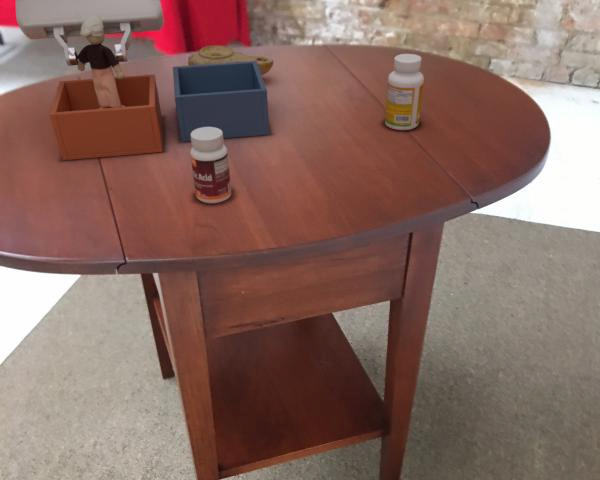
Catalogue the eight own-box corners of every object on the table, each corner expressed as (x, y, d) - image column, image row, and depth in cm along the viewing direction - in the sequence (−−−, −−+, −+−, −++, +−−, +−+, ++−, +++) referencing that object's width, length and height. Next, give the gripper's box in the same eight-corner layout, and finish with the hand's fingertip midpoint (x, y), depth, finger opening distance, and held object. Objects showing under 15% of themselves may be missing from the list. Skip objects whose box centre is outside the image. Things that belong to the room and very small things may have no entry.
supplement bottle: (403, 114, 103) (410, 49, 96) (425, 125, 100) (434, 58, 93) (377, 122, 101) (382, 56, 94) (399, 134, 98) (405, 66, 91)
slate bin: (181, 142, 97) (174, 97, 92) (179, 108, 107) (172, 66, 102) (269, 134, 98) (266, 90, 94) (259, 102, 108) (256, 60, 103)
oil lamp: (276, 84, 114) (275, 53, 111) (198, 94, 111) (194, 63, 107) (260, 65, 121) (258, 36, 118) (186, 75, 118) (182, 45, 115)
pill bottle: (188, 197, 84) (179, 134, 79) (213, 184, 87) (205, 122, 81) (215, 207, 82) (207, 144, 76) (239, 193, 85) (233, 130, 79)
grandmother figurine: (138, 108, 97) (122, 13, 88) (128, 117, 94) (110, 21, 85) (91, 104, 98) (70, 10, 89) (80, 113, 95) (58, 18, 86)
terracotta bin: (62, 160, 93) (49, 114, 89) (71, 124, 103) (59, 81, 98) (162, 152, 95) (154, 106, 90) (161, 117, 104) (154, 74, 100)
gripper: (1, -47, 86) (15, 55, 86) (153, -55, 88) (166, 44, 88) (17, -16, 92) (30, 78, 93) (158, -25, 94) (170, 67, 95)
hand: (97, 61), depth 90 cm, fingers closed on grandmother figurine, 5 cm apart
